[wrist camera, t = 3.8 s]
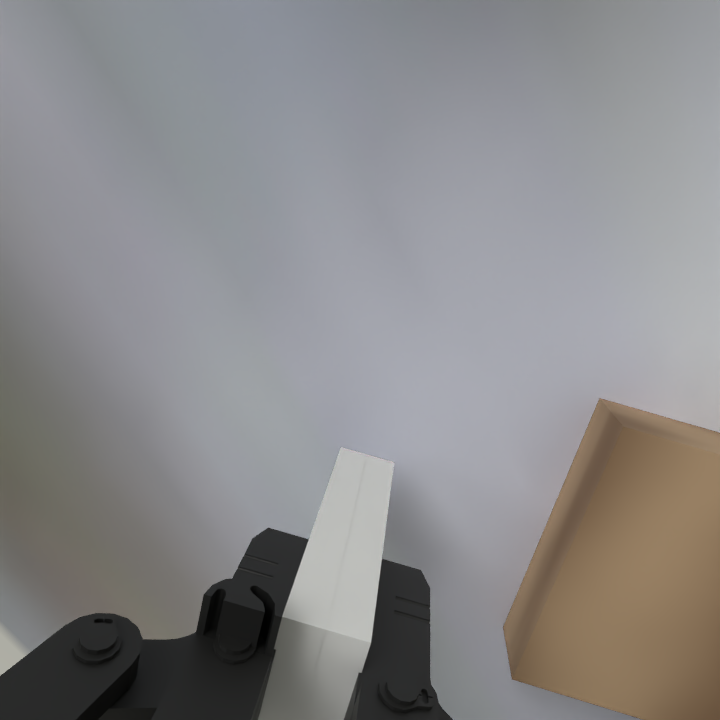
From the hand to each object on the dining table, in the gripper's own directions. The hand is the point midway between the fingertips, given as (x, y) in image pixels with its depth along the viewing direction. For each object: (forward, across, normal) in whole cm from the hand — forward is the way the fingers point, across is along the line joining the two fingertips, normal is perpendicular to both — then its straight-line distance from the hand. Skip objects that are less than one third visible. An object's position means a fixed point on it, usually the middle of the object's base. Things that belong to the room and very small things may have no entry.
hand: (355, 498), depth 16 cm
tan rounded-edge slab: (+2, +11, 0) cm, 11 cm away
